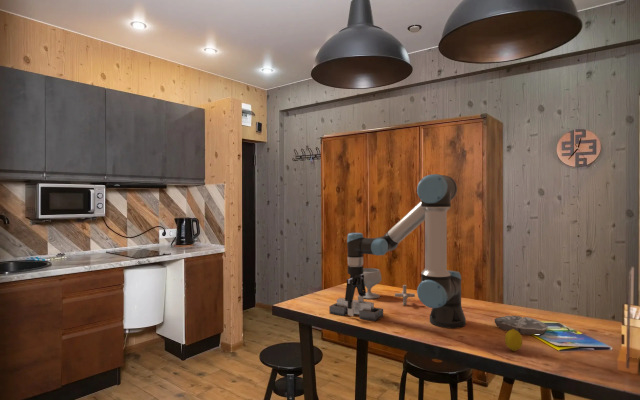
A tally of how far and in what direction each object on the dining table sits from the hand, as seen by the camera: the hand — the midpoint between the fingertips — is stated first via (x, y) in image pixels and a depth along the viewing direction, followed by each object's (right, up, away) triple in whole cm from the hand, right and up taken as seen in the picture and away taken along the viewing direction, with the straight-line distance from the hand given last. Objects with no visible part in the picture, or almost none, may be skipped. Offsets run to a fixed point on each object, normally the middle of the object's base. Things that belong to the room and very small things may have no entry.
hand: (355, 312), depth 180 cm
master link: (0, 0, 0) cm, 1 cm away
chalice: (+11, -1, +33) cm, 35 cm away
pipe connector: (+27, -1, +16) cm, 31 cm away
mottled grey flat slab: (+67, -1, -21) cm, 70 cm away
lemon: (+52, -1, -45) cm, 69 cm away
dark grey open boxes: (0, -1, 0) cm, 1 cm away
